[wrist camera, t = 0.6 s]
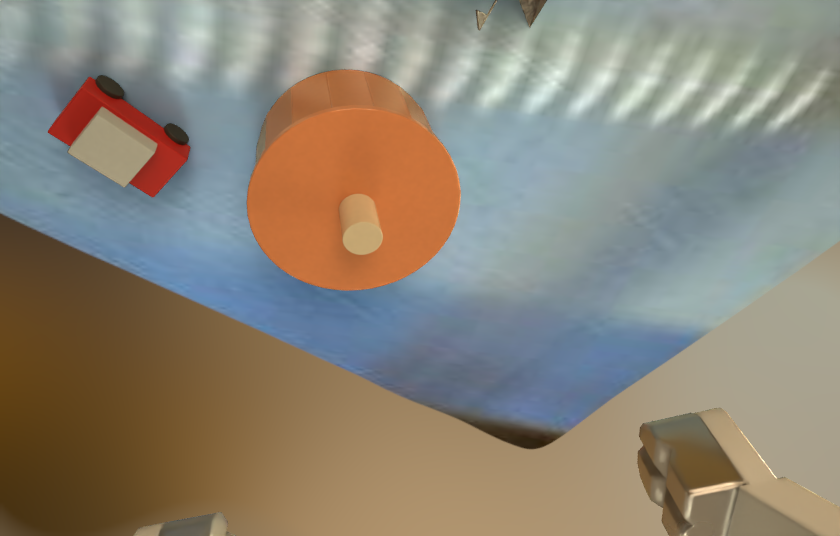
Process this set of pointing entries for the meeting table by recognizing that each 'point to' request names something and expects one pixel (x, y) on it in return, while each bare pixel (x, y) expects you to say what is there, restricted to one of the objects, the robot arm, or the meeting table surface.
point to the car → (120, 137)
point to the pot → (335, 100)
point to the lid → (353, 197)
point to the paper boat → (530, 4)
